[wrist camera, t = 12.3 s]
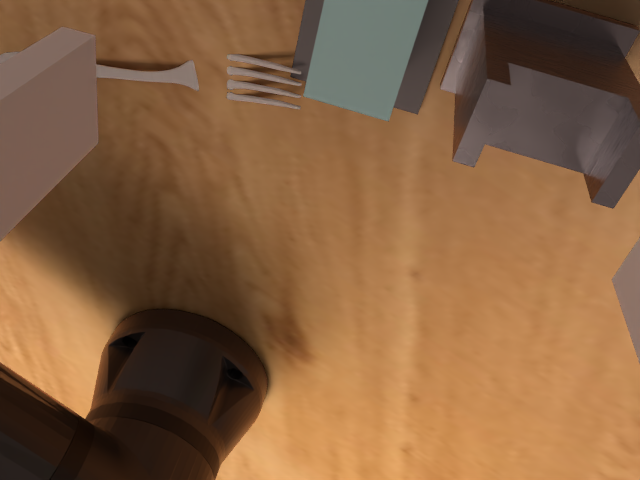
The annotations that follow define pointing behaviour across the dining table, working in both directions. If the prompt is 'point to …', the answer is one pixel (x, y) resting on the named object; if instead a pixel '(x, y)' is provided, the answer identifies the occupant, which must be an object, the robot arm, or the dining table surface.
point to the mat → (421, 57)
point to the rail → (363, 53)
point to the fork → (189, 78)
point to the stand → (548, 90)
